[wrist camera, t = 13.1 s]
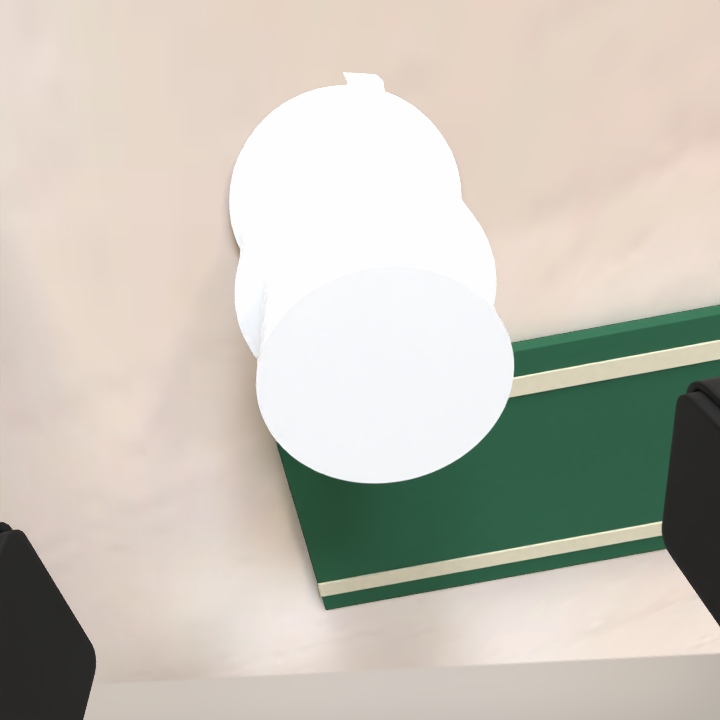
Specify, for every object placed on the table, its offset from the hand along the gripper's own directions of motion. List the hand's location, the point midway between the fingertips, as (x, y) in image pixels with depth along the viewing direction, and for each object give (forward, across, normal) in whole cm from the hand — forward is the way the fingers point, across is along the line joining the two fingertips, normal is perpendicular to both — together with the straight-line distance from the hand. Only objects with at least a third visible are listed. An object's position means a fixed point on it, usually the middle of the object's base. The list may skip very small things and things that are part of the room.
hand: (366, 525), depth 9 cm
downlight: (+13, -1, -1) cm, 13 cm away
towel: (+13, -6, +11) cm, 18 cm away
